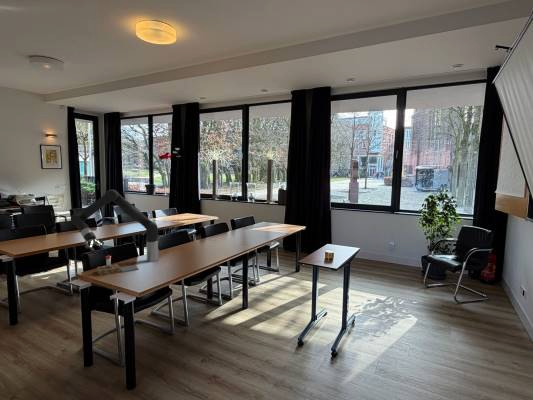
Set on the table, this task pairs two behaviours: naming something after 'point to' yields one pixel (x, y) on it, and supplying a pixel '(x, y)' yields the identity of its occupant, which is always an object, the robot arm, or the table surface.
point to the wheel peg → (108, 261)
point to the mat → (128, 268)
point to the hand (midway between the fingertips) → (98, 250)
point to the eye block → (108, 270)
